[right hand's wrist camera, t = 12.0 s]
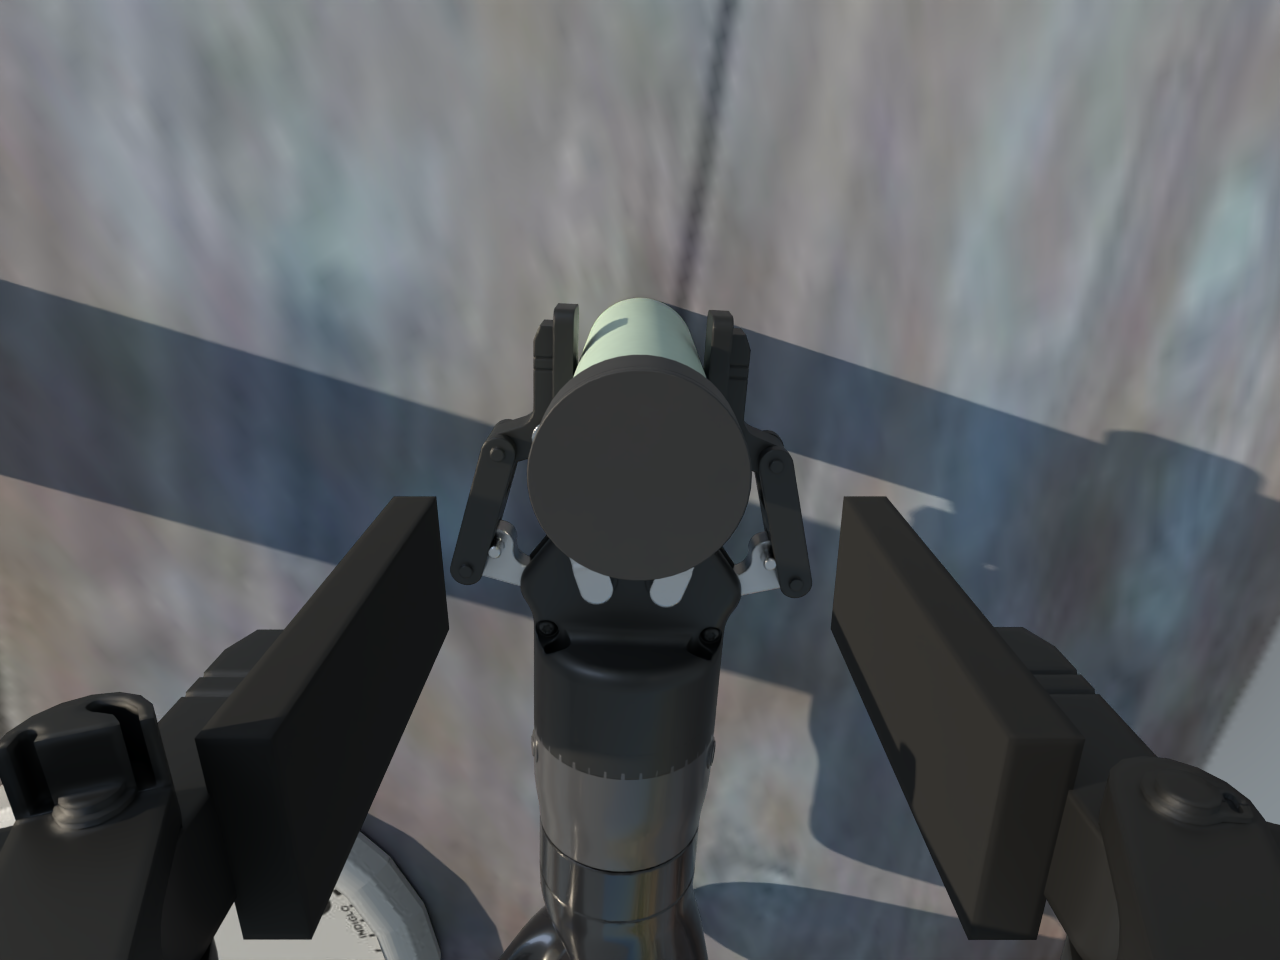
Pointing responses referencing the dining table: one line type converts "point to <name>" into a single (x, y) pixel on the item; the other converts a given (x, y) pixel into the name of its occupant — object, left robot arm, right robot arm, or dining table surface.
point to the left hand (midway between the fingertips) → (644, 312)
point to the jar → (640, 334)
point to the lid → (639, 468)
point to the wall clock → (340, 915)
